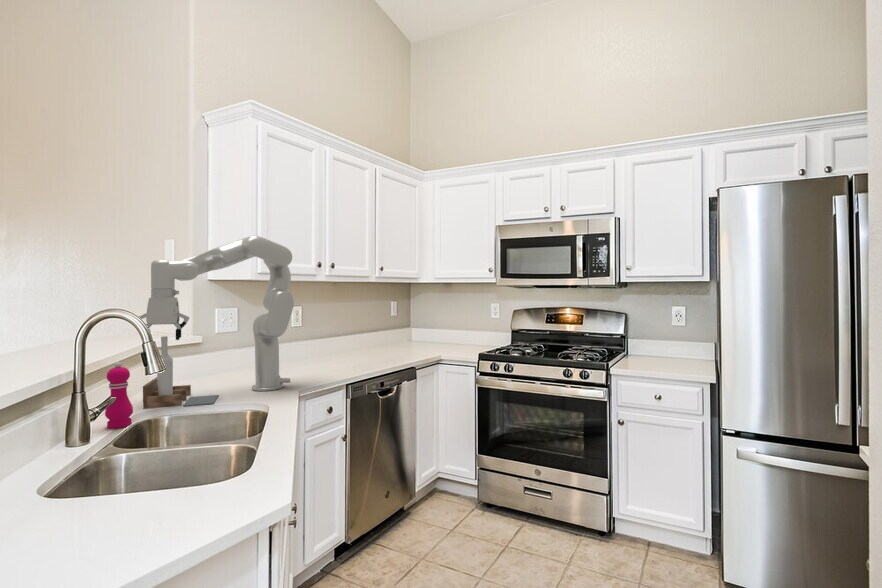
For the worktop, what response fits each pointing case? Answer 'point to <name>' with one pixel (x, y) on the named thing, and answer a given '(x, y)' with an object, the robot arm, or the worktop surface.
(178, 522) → the worktop surface
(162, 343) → the bottle
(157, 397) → the lane rack
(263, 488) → the worktop surface
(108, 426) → the pepper mill
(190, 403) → the rubber mat
